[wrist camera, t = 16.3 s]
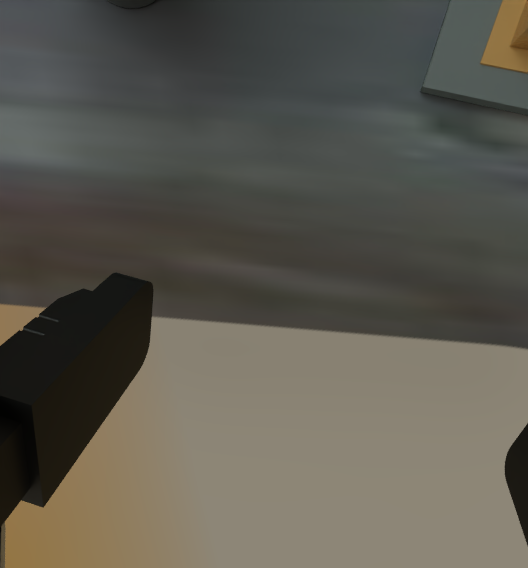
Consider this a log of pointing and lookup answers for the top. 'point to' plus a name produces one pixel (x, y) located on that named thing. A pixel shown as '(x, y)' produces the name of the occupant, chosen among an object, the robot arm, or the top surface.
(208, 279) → the top surface
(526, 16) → the block
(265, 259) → the top surface
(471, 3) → the press
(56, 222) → the top surface
